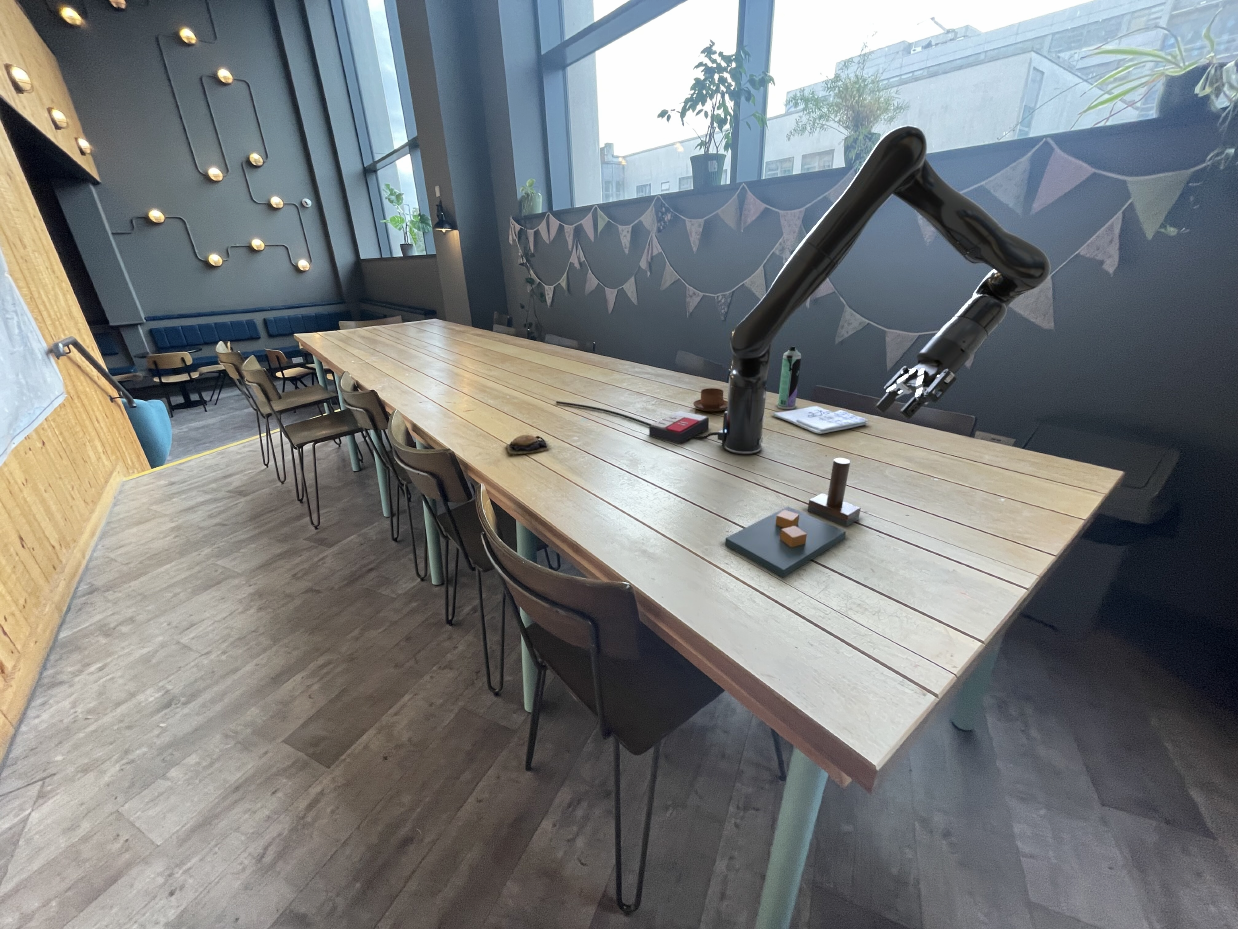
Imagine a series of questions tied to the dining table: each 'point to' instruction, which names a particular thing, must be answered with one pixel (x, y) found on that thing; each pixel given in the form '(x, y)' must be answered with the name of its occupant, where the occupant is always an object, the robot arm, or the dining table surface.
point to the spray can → (789, 379)
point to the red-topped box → (679, 426)
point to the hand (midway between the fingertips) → (890, 412)
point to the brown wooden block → (787, 519)
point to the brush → (836, 497)
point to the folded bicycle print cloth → (821, 419)
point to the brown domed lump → (526, 445)
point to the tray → (777, 555)
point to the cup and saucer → (711, 400)
